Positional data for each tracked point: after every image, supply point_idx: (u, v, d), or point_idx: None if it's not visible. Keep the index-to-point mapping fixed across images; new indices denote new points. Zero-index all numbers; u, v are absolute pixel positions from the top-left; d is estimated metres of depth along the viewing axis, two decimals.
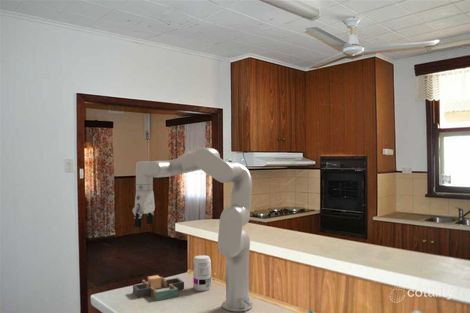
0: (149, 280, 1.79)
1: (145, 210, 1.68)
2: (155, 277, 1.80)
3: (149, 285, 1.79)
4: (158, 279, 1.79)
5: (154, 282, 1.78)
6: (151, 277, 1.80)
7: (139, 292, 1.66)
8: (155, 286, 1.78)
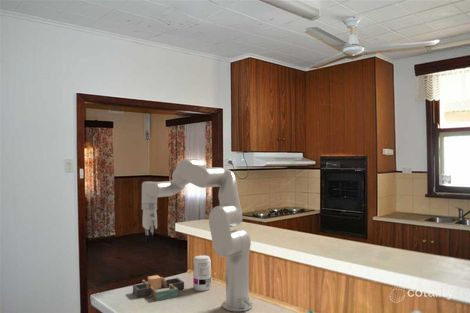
0: (149, 280, 1.79)
1: None
2: (155, 277, 1.80)
3: (149, 285, 1.79)
4: (158, 279, 1.79)
5: (154, 282, 1.78)
6: (151, 277, 1.80)
7: (139, 292, 1.66)
8: (155, 286, 1.78)
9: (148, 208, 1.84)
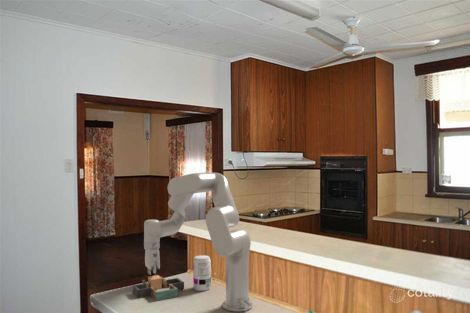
0: (149, 280, 1.78)
1: None
2: (156, 277, 1.79)
3: (149, 285, 1.78)
4: (159, 279, 1.78)
5: (154, 282, 1.77)
6: (152, 277, 1.79)
7: (139, 292, 1.66)
8: (155, 286, 1.77)
9: (151, 248, 1.80)
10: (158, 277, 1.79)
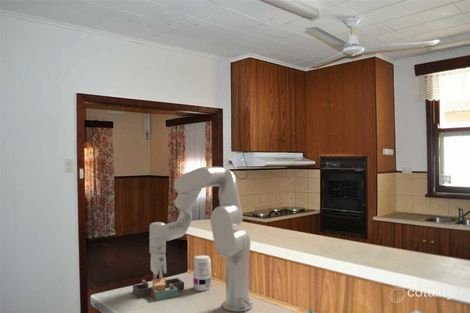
0: (153, 284, 1.70)
1: None
2: (159, 282, 1.70)
3: None
4: (162, 286, 1.69)
5: (157, 288, 1.69)
6: (156, 281, 1.71)
7: (139, 292, 1.66)
8: None
9: (156, 252, 1.73)
10: (162, 282, 1.71)
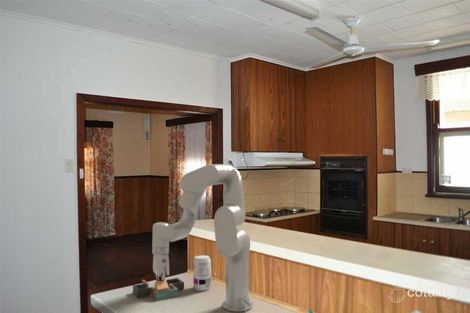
0: (156, 287, 1.66)
1: None
2: (163, 285, 1.66)
3: None
4: (165, 289, 1.65)
5: None
6: (159, 284, 1.66)
7: (139, 292, 1.66)
8: None
9: (159, 253, 1.68)
10: (165, 285, 1.67)
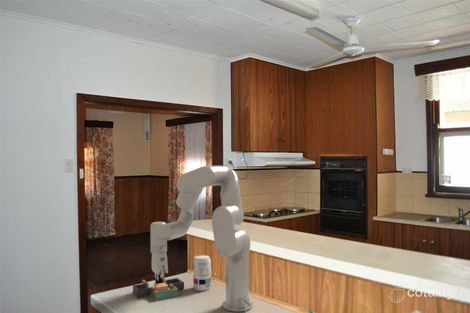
0: (155, 288, 1.67)
1: None
2: (162, 285, 1.68)
3: None
4: (165, 287, 1.67)
5: (160, 290, 1.66)
6: (158, 285, 1.68)
7: (139, 292, 1.66)
8: None
9: (158, 251, 1.71)
10: (164, 285, 1.68)
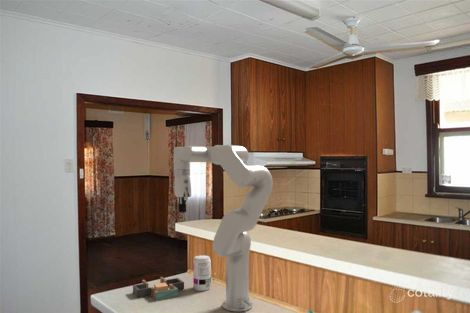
0: (155, 288, 1.67)
1: None
2: (162, 285, 1.68)
3: None
4: (165, 287, 1.67)
5: (160, 290, 1.66)
6: (158, 285, 1.68)
7: (139, 292, 1.66)
8: None
9: (181, 174, 1.73)
10: (164, 285, 1.68)
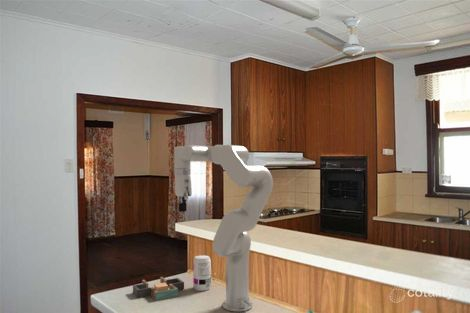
0: (155, 288, 1.67)
1: None
2: (162, 285, 1.68)
3: None
4: (165, 287, 1.67)
5: (160, 290, 1.66)
6: (158, 285, 1.68)
7: (139, 292, 1.66)
8: None
9: (182, 173, 1.73)
10: (164, 285, 1.68)
